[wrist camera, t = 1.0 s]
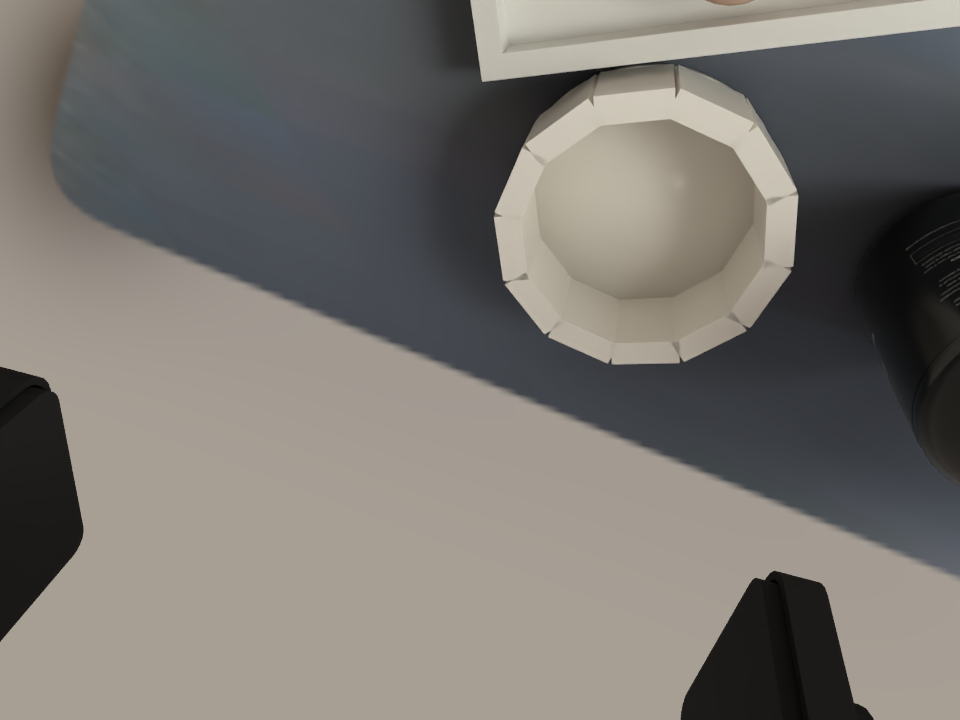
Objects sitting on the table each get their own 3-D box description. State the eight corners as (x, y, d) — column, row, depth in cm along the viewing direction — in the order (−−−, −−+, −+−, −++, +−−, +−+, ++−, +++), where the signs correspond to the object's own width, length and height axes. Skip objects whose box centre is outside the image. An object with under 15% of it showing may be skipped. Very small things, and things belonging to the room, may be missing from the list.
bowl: (787, 46, 24) (806, 73, 21) (772, 306, 29) (786, 360, 26) (500, 80, 27) (477, 108, 24) (530, 315, 32) (515, 366, 28)
